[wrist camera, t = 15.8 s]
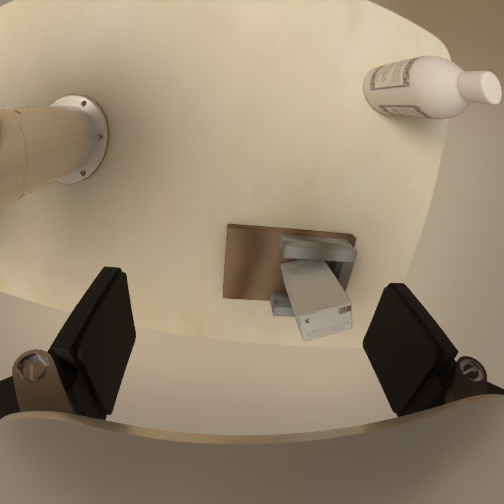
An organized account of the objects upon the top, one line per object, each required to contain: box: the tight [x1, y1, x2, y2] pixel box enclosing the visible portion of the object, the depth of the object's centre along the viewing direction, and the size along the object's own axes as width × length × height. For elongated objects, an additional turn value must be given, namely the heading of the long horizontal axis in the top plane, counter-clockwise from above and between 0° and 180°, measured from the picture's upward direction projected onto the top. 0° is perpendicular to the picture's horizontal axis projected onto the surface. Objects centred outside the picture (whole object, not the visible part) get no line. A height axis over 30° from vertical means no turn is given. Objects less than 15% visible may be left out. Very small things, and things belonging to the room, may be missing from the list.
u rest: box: [223, 224, 357, 316], centre depth 39 cm, size 18×11×6 cm, turn 85°
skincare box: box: [281, 259, 352, 342], centre depth 35 cm, size 6×4×12 cm
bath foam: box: [363, 56, 502, 119], centre depth 22 cm, size 7×7×20 cm
